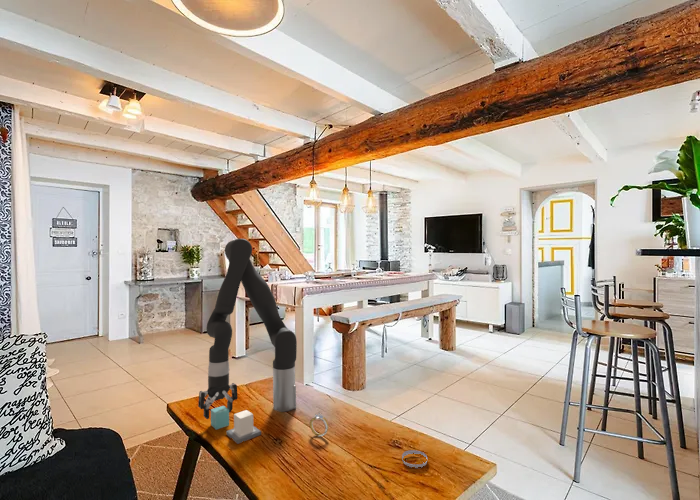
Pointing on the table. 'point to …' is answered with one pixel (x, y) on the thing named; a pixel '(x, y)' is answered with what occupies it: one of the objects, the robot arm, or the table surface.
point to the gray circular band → (414, 453)
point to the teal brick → (219, 417)
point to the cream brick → (243, 422)
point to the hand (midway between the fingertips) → (218, 414)
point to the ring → (320, 416)
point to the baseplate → (247, 436)
